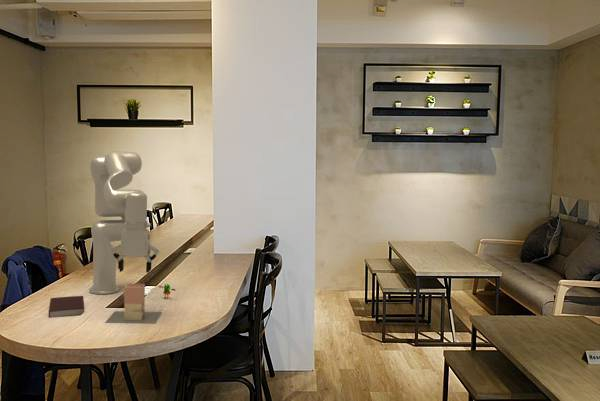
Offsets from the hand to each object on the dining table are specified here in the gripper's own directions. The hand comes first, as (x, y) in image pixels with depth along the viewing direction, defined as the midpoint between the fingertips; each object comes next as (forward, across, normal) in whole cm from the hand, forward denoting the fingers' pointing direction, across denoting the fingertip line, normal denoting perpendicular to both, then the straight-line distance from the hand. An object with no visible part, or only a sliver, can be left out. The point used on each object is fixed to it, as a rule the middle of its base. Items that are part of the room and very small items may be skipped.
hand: (134, 271), depth 200 cm
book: (+20, +28, -11) cm, 36 cm away
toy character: (+20, -8, -29) cm, 36 cm away
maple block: (+17, 0, +1) cm, 17 cm away
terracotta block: (+11, 0, +1) cm, 11 cm away
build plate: (+18, 0, +1) cm, 18 cm away
